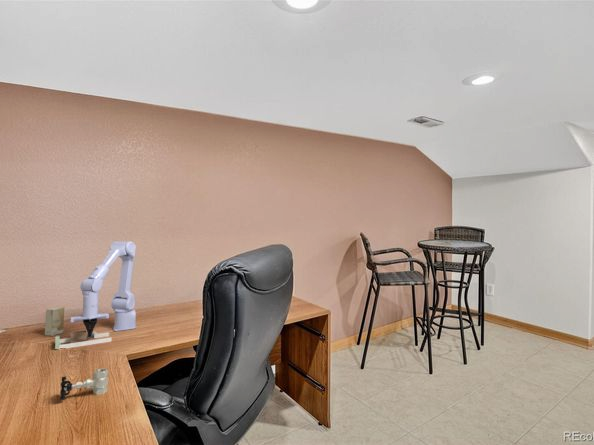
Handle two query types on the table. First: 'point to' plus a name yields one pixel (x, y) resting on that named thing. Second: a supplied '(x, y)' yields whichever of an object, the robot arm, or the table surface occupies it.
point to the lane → (94, 335)
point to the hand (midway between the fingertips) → (89, 336)
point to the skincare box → (54, 321)
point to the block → (78, 336)
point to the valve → (87, 383)
